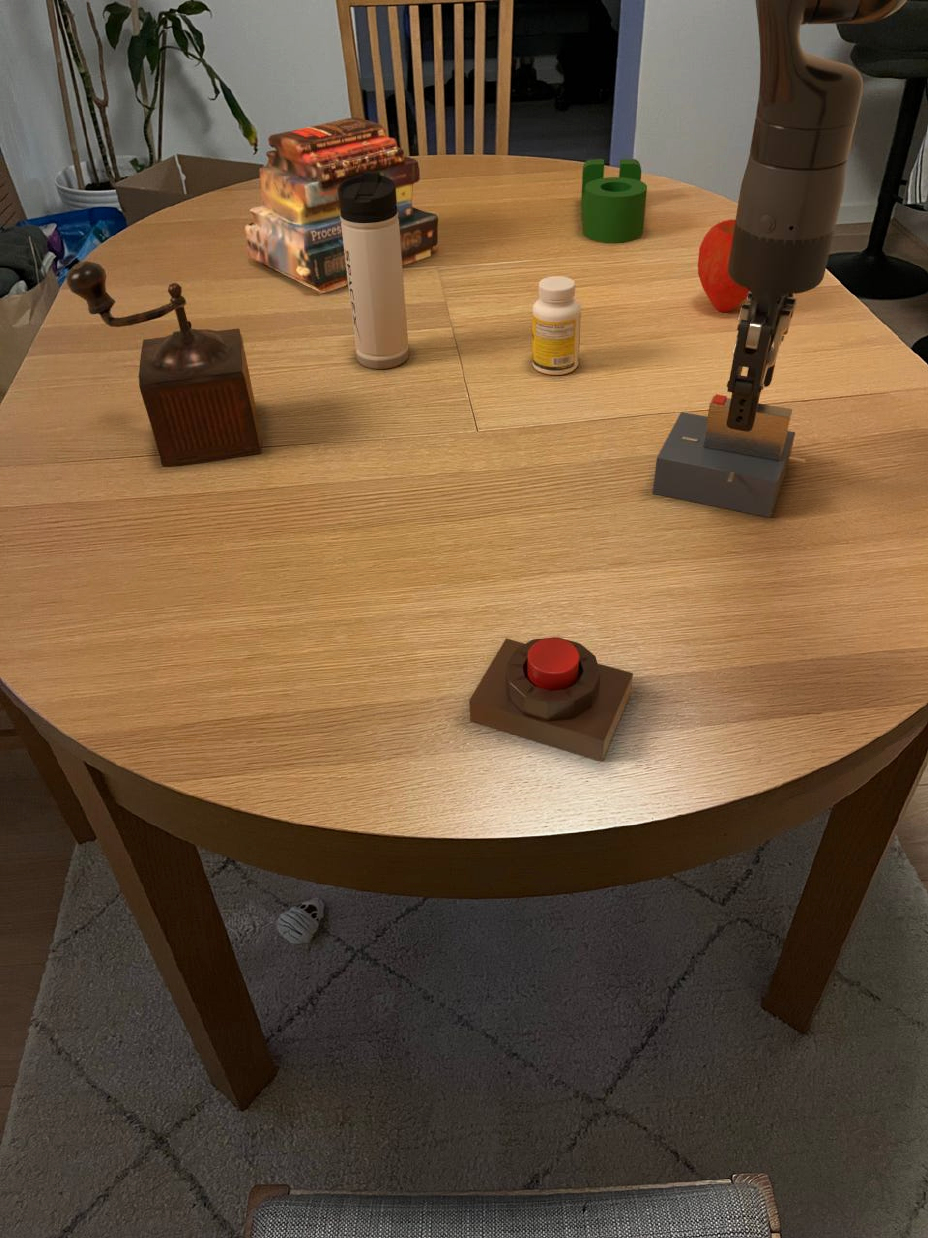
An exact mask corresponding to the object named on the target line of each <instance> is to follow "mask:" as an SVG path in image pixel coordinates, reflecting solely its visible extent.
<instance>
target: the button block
mask: <svg viewBox="0 0 928 1238" xmlns="http://www.w3.org/2000/svg"><path fill="white" fill-rule="evenodd" d="M547 638H548V637H542V638H534V639H531V640H529V641H527V642H526V643H525V642H522V641H517V640H513V639H510V638H505V639H504V641H503V643H502V645H500V648H499V649H498V651H497V652H496V654H495V656H494V658H493V659H492V661H491V662H490V664H489V666H488V668H487V670H486V671H485V672H484V675H483V676H482V678H481V679H480V681H479V682H478V685H477V686H476V688H475V689H474V691H473V693H472V695H471V697H470V699H469V700H468V703H469V705H468V707H469V721H470V722H473V723H476V724H479V725H483V726H485V727H489V728H492V729H495V730H499V731H502V732H505V733H507V734H511V735H514V736H518V737H521V738H524V739H527V740H530V741H535V742H537V743H540V744H544V745H548V746H551V747H554V748H557V749H560V750H563V751H567V752H570V753H573V754H576V755H579V756H583V757H586V758H590V759H592V760H596V761H599V762H603V761H604V758H605V756H606V754H607V752H608V749H609V747H610V744H611V741H612V740H613V737H614V735H615V732H616V730H617V727H618V725H619V722H620V721H621V718H622V715H623V713H624V710H625V708H626V706H627V704H628V702H629V699H630V697H631V694H632V686H633V679H634V673H633V672H630V671H627V670H624V669H620V668H616V667H612V666H608V665H605V664H602V663H598V660H597V657H596V655H595V654H594V653H592V652H591V651H590V650H589V649H587V647H585V646H584V645H583V644H581V643H580V642H577V641H573V640H571V639H566V638H562V637H559V636H551V638H558V639H563V640H566V641H568V642H570V643H571V644H573V645H574V646H575V647H576V649H577V650H578V653H579V671H578V677H577V680H576V681H575V682H574V684H572V685H571V686H570V687H568V688H566V689H562V690H553V691H550V690H546V689H543V688H539V687H537V686H536V685H534V684H533V683H532V682H531V680H530V679H529V677H528V674H527V662H528V651H529V649H530V648H531V646H532V645H533V644H535V643H536V642H538V641H540V640H543V639H547Z"/></svg>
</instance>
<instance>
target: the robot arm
mask: <svg viewBox="0 0 928 1238" xmlns="http://www.w3.org/2000/svg"><path fill="white" fill-rule="evenodd" d="M907 1H908V0H755V9H756V16H757V18H756V19H757V25H758V26H757V27H758V39H759V40H758V41H759V87H758V99H757V104H756V105H757V106H756V113H755V118H754V125H753V131H752V137H751V142H750V147H749V148H750V149H749V155H748V159H747V163H746V168H745V171H744V174H743V177H742V181H741V186H740V190H739V196H738V201H737V207H736V214H735V219H734V220H735V226H734V232H733V239H732V245H731V251H730V257H729V263H728V274H729V276H730V278H731V279H732V280H733V281H734V282H735V283H736V284H738V285H739V286H741V287H745V288H746V289H748V290H749V291H750V292H748V295H747V297H746V298H745V299H746V300H745V303H742V304H741V308H740V311H739V314H738V324H737V328H736V330H737V334H736V339H735V343H734V346H733V351H732V356H733V358H732V363H731V368H730V373H729V379H728V380H727V383H726V388H727V390H726V391H727V393H731V397H730V399H731V401H730V407H729V413H728V418H727V426H728V427H729V428H730V429H735V430H740V431H745V432H748V431H751V430H752V428H753V425H754V422H755V417H756V412H757V407H758V403H759V402H760V397H761V393H762V391H764V389H765V388H767V387H769V386H770V385H771V384H772V381H773V378H774V377H773V376H774V372H775V368H776V367H775V366H776V363H777V362H776V361H777V358H778V353H779V351H780V346H781V345H782V342H784V341H785V335H788V332H789V329H790V325H791V321H792V318H793V316H794V312H795V310H796V305H797V300H798V298H797V297H794V294H795V295H797V294H802V293H807V292H809V291H811V290H814V289H815V288H817V287H818V286H819V285H820V284H821V283H822V282H823V280H824V278H825V274H826V269H827V265H828V262H829V261H828V260H829V256H830V252H831V247H832V244H833V239H834V235H835V231H836V230H835V229H836V226H837V222H838V217H839V212H840V208H841V205H842V200H843V195H844V190H845V181H846V171H847V163H848V158H849V154H850V150H851V145H852V142H853V137H854V132H855V128H856V124H857V119H858V116H859V115H858V114H859V111H860V107H861V101H862V97H863V89H864V82H863V81H864V80H863V77H862V74H861V73H860V72H859V71H858V70H857V69H856V68H855V67H854V66H852V65H850V64H847V63H843V62H840V61H837V60H832V59H828V58H823V57H819V56H816V55H813V54H810V53H808V52H806V51H805V50H804V49H803V47H802V45H801V40H800V39H801V38H800V31H801V26H803V25H836V24H837V25H838V24H839V25H841V24H848V25H857V24H870V23H874V22H878V21H880V20H883V19H885V18H888V17H889V16H891V15H893V14H895V13H896V12H897V11H899V10H900V9H901V8H902V6H905V4H906V2H907ZM744 368H747V372H746V375H742V373H743V369H744Z"/></svg>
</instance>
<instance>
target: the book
mask: <svg viewBox="0 0 928 1238" xmlns="http://www.w3.org/2000/svg"><path fill="white" fill-rule="evenodd" d="M267 140H268V145H269V147H271V148H274V150H269V151H267V152H265V156H266V157H267V158H268V160H267V163H266V165H265V166H261V167H260V168H259V171H258V173H259V180H260V187H261V191H260V200H261V205H259V206H255V207H251V208H250V209H249V211H250V214H251V215H252V216H253V219H254V220H253V222H251V223H248V224H246V225H245V226H244V233H245V239H246V251H247V255H248V257H249V258H251V259H252V260H255V261H257V262H260V263H261V264H263V265H265V266H267V267H269V268H271V269H273V270H275V271H277V272H279V273H280V274H282V275H284V276H286V277H288V278H290V279H292V280H294V281H296V282H298V283H300V284H302V285H303V286H305V287H307V288H310V289H313V290H314V291H316V292H318V293H321V294H326V293H329V292H332V291H335V290H337V289H340V288H343V287H346V286H348V279H347V270H346V261H345V253H344V244H343V236H342V227H341V219H340V205H339V197H338V187H339V186H340V184H341V183H342V182H344V181H345V180H347V179H350V178H352V177H356V176H361V175H363V172H379V173H380V175H382V176H386V177H388V178H390V179H392V180H393V181H394V182H395V185H396V197H397V203H396V205H397V210H398V219H399V230H400V243H401V256H402V267H403V266H406V265H408V264H412V263H415V262H417V261H419V260H423V259H426V258H429V257H431V256H432V249H433V248H434V247H437V245H438V243H439V236H438V235H439V234H438V232H439V231H438V228H439V216H438V215H437V214H436V213H432V212H427V211H424V210H421V209H419V208H416V207H414V206H413V203H412V202H413V201H412V200H413V196H414V195H413V194H414V187H413V186H414V184H415V183H418V182H419V181H420V180H421V177H420V176H421V175H420V174H421V173H420V171H421V170H420V166H419V162H418V161H417V159H415V158H412V157H409V156H405V151H404V149H403V148H402V147H398V144H397V141H396V139H395V138H393V137H389V135H388V134H387V132H386V128H385V126H383V125H382V124H380V123H377V122H374V121H372V120H368V119H364V118H360V117H354V116H353V117H348V118H343V119H339V120H335V121H330V122H324V123H322V124H321V123H320V124H316V125H313V126H308V127H302V128H298V129H294V130H289V131H283V132H280V133H275V134H270V136H269V137H268V139H267Z"/></svg>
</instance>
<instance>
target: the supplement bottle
mask: <svg viewBox="0 0 928 1238" xmlns="http://www.w3.org/2000/svg"><path fill="white" fill-rule="evenodd" d="M575 296H576V281H575V280H574V279H573V278H570V277H567V276H563V275H553V276H548V277H545V278H543V279H541V280H540V281H539V282H538V297H539V299H537V300H536V301H535V302H534V303H533V305H532V313H531V315H532V316H531V317H532V318H531V319H532V321H531V322H532V323H531V325H532V326H531V327H532V329H531V331H532V332H531V333H532V335H531V338H532V339H531V341H532V342H531V343H532V345H531V346H532V347H531V348H532V349H531V351H532V352H531V359H532V362H531V363H532V366H533V368H534V369H535V370H536V371H537V372H539V373H541V374H545V375H552V376H561V375H566V374H568V373H569V374H570V373H571V372H573V371H574V370H576V369H577V367H578V366H579V361H580V340H581V317H582V315H581V314H582V313H581V311H582V307H581V304H580V302H579V301H578V300H577V299H576V298H575Z"/></svg>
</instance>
